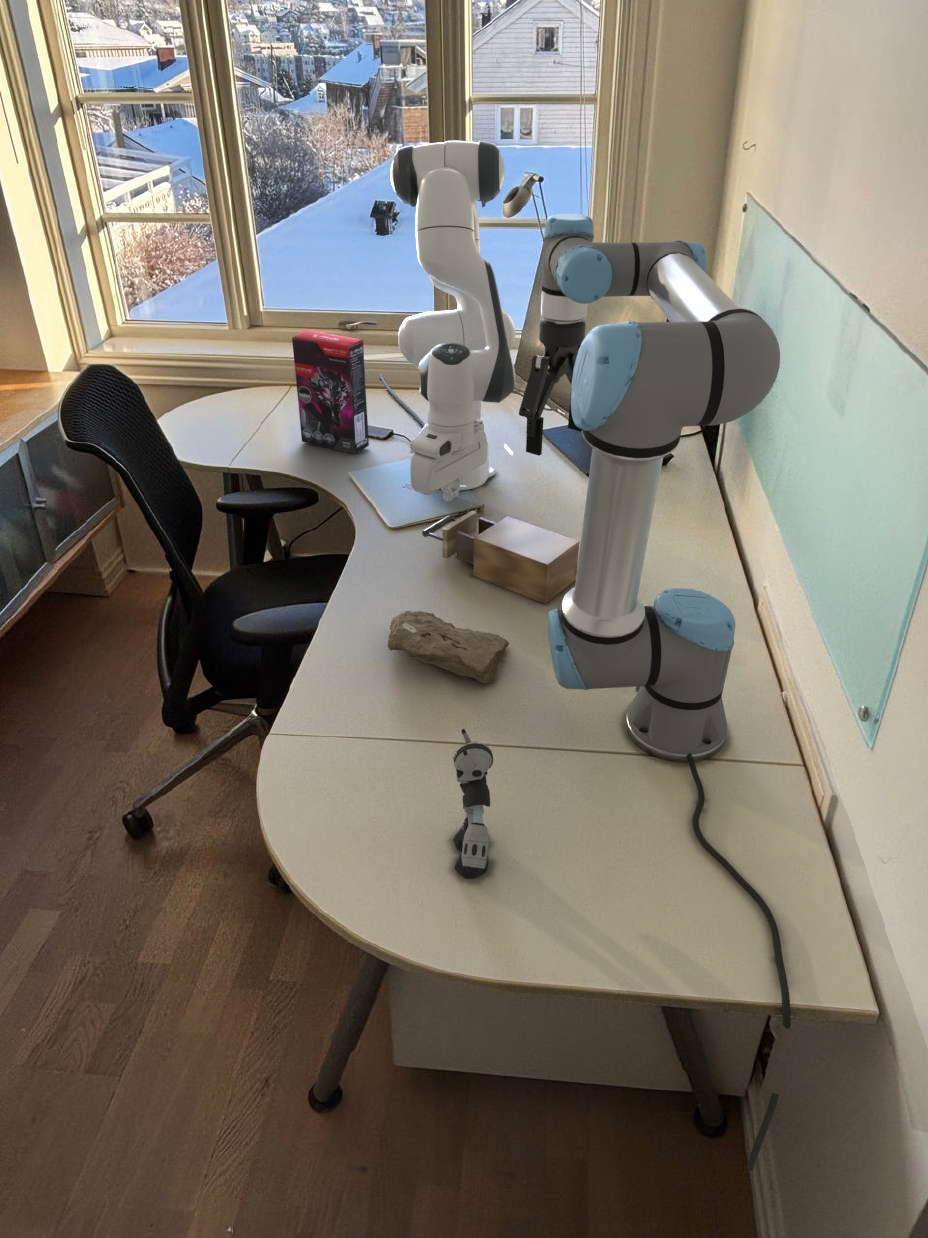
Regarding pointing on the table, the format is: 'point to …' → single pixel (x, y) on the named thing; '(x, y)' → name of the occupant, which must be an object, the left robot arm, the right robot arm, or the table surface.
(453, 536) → the drawer
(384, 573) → the table surface
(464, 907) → the table surface
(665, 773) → the table surface
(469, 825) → the robot
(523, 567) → the cabinet
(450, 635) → the stone
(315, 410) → the graphics card box
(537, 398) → the right robot arm
